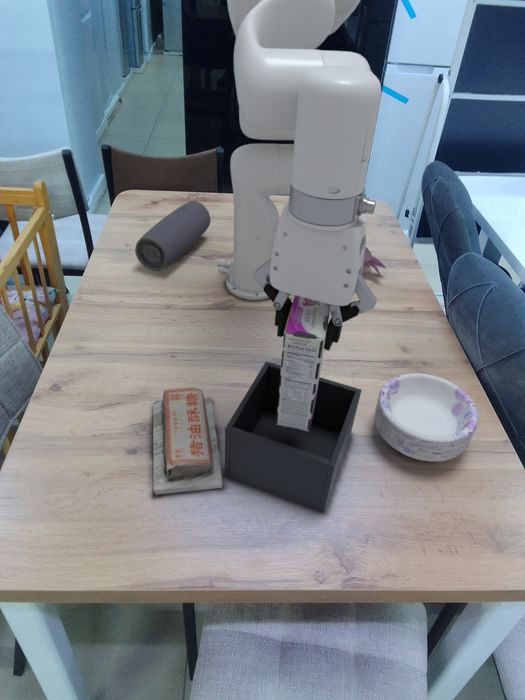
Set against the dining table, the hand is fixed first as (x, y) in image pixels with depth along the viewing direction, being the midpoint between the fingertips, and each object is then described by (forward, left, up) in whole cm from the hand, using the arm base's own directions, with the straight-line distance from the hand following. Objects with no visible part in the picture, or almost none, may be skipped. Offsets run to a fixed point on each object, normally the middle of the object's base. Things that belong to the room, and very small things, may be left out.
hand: (306, 336), depth 64 cm
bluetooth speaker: (-47, +48, -24) cm, 71 cm away
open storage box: (0, 0, -24) cm, 24 cm away
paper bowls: (+18, +12, -24) cm, 32 cm away
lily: (-2, +60, -24) cm, 65 cm away
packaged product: (-16, -5, -24) cm, 29 cm away
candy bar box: (0, 0, -12) cm, 12 cm away
